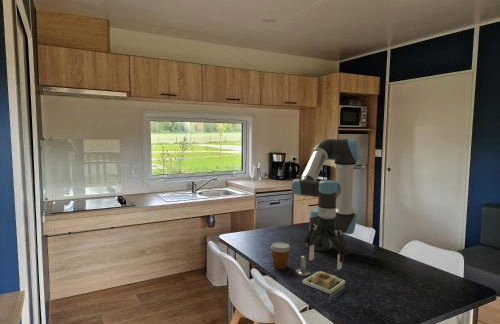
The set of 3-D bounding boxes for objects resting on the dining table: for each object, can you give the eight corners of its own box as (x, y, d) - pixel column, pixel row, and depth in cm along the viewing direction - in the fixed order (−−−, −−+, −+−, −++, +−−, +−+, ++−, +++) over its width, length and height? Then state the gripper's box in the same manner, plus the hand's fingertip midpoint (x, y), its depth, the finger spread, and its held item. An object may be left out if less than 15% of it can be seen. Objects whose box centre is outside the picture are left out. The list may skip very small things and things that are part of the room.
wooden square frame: (310, 285, 138) (311, 276, 138) (321, 278, 145) (322, 270, 145) (327, 291, 133) (327, 282, 133) (337, 284, 140) (338, 275, 139)
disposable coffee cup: (274, 273, 151) (274, 249, 150) (267, 265, 160) (268, 242, 159) (292, 271, 153) (293, 247, 152) (285, 264, 162) (286, 241, 161)
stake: (300, 270, 155) (301, 252, 154) (313, 275, 150) (313, 256, 149) (292, 274, 150) (293, 256, 149) (305, 279, 145) (305, 260, 144)
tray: (318, 277, 148) (318, 271, 148) (345, 286, 139) (345, 280, 139) (302, 286, 138) (302, 280, 138) (330, 297, 129) (330, 291, 129)
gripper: (297, 212, 142) (296, 258, 144) (350, 224, 125) (348, 275, 127) (306, 209, 147) (305, 253, 150) (358, 220, 131) (356, 269, 133)
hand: (324, 264), depth 138 cm, fingers open, 13 cm apart
